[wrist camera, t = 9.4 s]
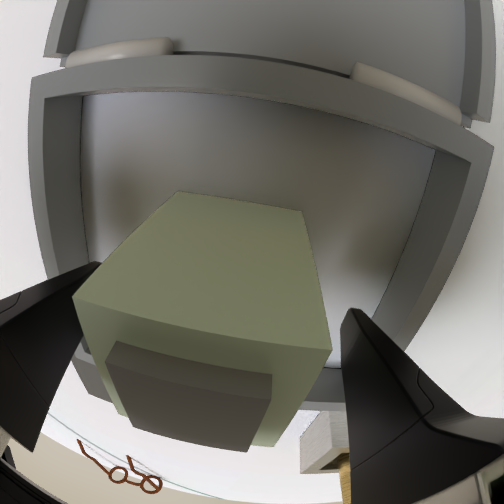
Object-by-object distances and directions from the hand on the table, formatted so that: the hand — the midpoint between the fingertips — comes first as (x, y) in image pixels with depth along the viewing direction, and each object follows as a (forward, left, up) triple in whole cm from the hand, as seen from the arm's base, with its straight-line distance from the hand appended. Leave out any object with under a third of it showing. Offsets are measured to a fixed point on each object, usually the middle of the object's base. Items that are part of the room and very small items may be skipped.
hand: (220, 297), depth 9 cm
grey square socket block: (-11, +14, -3) cm, 18 cm away
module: (0, 0, -3) cm, 3 cm away
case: (0, -8, -3) cm, 8 cm away
